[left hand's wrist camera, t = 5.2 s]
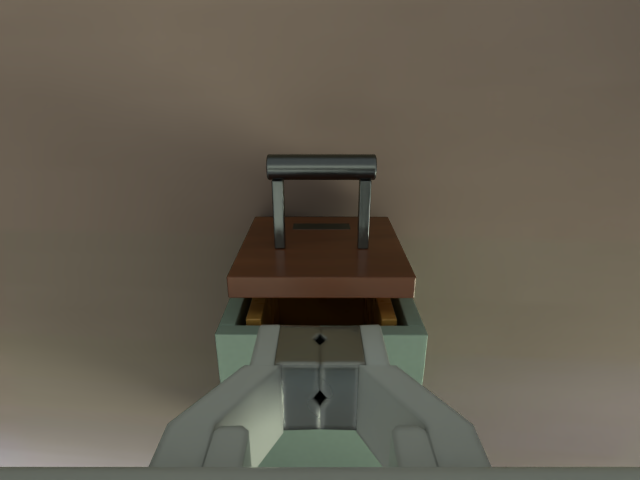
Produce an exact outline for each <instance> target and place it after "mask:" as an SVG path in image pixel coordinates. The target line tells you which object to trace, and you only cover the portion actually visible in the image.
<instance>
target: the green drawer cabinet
mask: <svg viewBox="0 0 640 480" xmlns="http://www.w3.org/2000/svg"><path fill="white" fill-rule="evenodd" d="M390 299H391V302H392V306H393V309H394V312H395V315H396V319H397V325H396V326H381V330H382V334H383V338H384V342H385V346H386V350H387V354H388V358H389V362H390V365H396V366H398V367H399V368H400V369H402V370H403V371H404V372H405V373H407V374H408V375H409V376H411V377H412V378H413V379H415V380H416V381H417V382H418V383H420V384H421V385H422V383H423V374H424V365H425V356H426V348H427V339H428V334H427V332H426V329H425V327H424V325H423V322H422V320H421V318H420V315H419V313H418V310H417V308H416V305H415V303H414V301H413V298H390ZM251 301H252V298H230V300H229V302H228V304H227V307H226V309H225V312H224V314H223V317H222V319H221V321H220V324H219V326H218V328H217V331H216V333H215V340H216V349H217V358H218V367H219V376H220V383H222V382H223V381H224V380H225V379H227V378H228V377H229V376H231V375H232V374H233V373H235V372H236V371H237V370H238V369H240V368H241V367H242V366H244V365H250V362H251V358H252V354H253V350H254V346H255V342H256V338H257V334H258V329H259V327H260V326H250V325H246V317H247V314H248V311H249V308H250V304H251ZM283 432H284V433H283V434H282V435H281V437H280V438H279V439H278V441H277V442H276V443H275V444H274V446H273V447H272V448H271V450H270V451H269V452H268V454H267V455H266V456H265V458H264V459H263V460H262V462H261V463H260V464H259V466H258V467H382V465H381V464H380V463H379V461H378V460H377V459H376V457H375V456H374V455H373V453H372V452H371V451H370V449H369V448H368V447H367V445H366V444H365V443H364V441H363V440H362V439H361V437H360V436H359V435H358V433H357V430H322V429H317V430H283Z"/></svg>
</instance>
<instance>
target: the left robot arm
mask: <svg viewBox="0 0 640 480" xmlns="http://www.w3.org/2000/svg"><path fill="white" fill-rule="evenodd" d="M317 429H322V430H357V433H358V435H359V436H360V437H361V439H362V440H363V441H364V443H365V444H366V445H367V447H368V448H369V449H370V451H371V452H372V453H373V455H374V456H375V457H376V459H377V460H378V461H379V463H380V464H381V465H382V467H258V466H259V464H260V463H261V462H262V460H263V459H264V458H265V456H266V455H267V454H268V452H269V451H270V450H271V448H272V447H273V446H274V444H275V443H276V442H277V441H278V439H279V438H280V437H281V435H282V434H283V433H284V432H283V430H317ZM0 480H640V467H491V465H490V463H489V460H488V458H487V456H486V453H485V451H484V449H483V447H482V444H481V442H480V440H479V437H478V435H477V433H476V431H475V428H474V426H473V424H472V423H470V422H469V421H468V420H466V419H465V418H464V417H462V416H461V415H460V414H459V413H457V412H456V411H455V410H453V409H452V408H451V407H449V406H448V405H447V404H446V403H444V402H443V401H442V400H440V399H439V398H438V397H437V396H435V395H434V394H433V393H431V392H430V391H429V390H427V389H426V388H425V387H424V386H422V385H421V384H420V383H418V382H417V381H416V380H415V379H413V378H412V377H411V376H409V375H408V374H407V373H405V372H404V371H403V370H402V369H400V368H399V367H398V366H396V365H390V362H389V358H388V354H387V350H386V346H385V342H384V338H383V334H382V330H381V326H380V325H379V324H378V325H355V326H311V325H281V326H280V325H261V326H260V327H259V329H258V334H257V338H256V342H255V346H254V350H253V354H252V358H251V362H250V365H244V366H242V367H241V368H240V369H238V370H237V371H236V372H235V373H233V374H232V375H231V376H229V377H228V378H227V379H225V380H224V381H223V382H222V383H220V384H219V385H218V386H216V387H215V388H214V389H212V390H211V391H210V392H209V393H207V394H206V395H205V396H203V397H202V398H201V399H199V400H198V401H197V402H195V403H194V404H193V405H192V406H190V407H189V408H188V409H186V410H185V411H184V412H182V413H181V414H180V415H179V416H177V417H176V418H175V419H173V420H172V421H171V422H169V423H168V424H167V426H166V429H165V431H164V433H163V435H162V438H161V440H160V442H159V444H158V447H157V449H156V451H155V454H154V456H153V458H152V460H151V463H150V465H149V467H0Z"/></svg>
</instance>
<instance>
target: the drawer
mask: <svg viewBox="0 0 640 480" xmlns="http://www.w3.org/2000/svg"><path fill="white" fill-rule="evenodd" d="M266 170H267V178H268V179H269V180H272V199H273V217H255V218H254V221H253V223H252V225H251V227H250V229H249V231H248V233H247V235H246V238H245V240H244V242H243V244H242V246H241V248H240V250H239V252H238V254H237V257H236V259H235V261H234V263H233V265H232V267H231V269H230V271H229V273H228V276H227V287H228V296H229V298H252V301H251V304H250V308H249V311H248V314H247V317H246V325H250V326H261V325H280V326H281V325H311V326H355V325H378V324H379V325H380V326H396V325H397V319H396V315H395V312H394V309H393V306H392V302H391V299H390V298H414V296H415V286H416V276H415V274H414V272H413V270H412V268H411V266H410V263H409V261H408V259H407V257H406V255H405V253H404V251H403V248H402V246H401V244H400V242H399V240H398V238H397V236H396V234H395V231H394V229H393V227H392V225H391V223H390V221H389V219H388V217H370V200H371V180H374V179H375V178H376V171H377V160H376V155H324V154H269V155H267V161H266ZM284 180H359V201H358V217H285V203H284Z"/></svg>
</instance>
